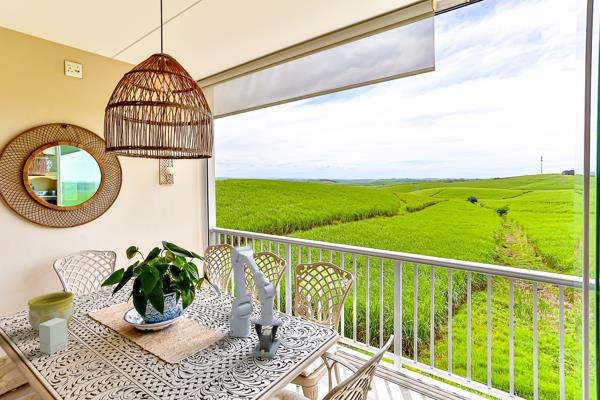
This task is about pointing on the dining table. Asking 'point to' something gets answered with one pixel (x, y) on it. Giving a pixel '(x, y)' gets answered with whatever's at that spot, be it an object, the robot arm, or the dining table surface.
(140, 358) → the dining table surface
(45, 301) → the flowerpot
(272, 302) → the robot arm
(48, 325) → the supplement box
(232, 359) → the dining table surface
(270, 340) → the block
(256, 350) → the pin tray
